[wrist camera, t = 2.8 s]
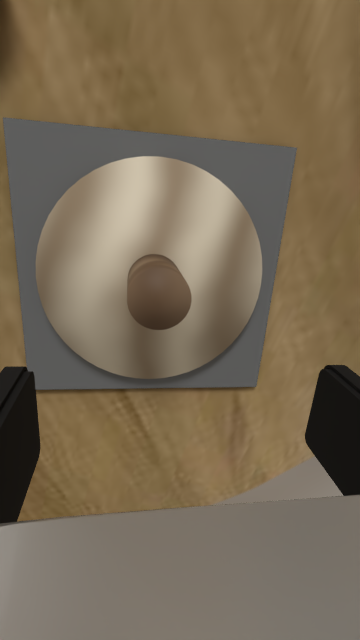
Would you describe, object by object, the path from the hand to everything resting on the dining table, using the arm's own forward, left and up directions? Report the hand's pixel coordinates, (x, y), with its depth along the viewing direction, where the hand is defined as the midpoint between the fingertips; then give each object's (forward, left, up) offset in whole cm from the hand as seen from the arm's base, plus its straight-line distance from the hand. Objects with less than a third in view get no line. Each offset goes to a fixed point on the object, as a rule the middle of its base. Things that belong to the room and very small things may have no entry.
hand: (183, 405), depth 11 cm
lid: (0, 0, -17) cm, 17 cm away
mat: (0, 0, -17) cm, 17 cm away
